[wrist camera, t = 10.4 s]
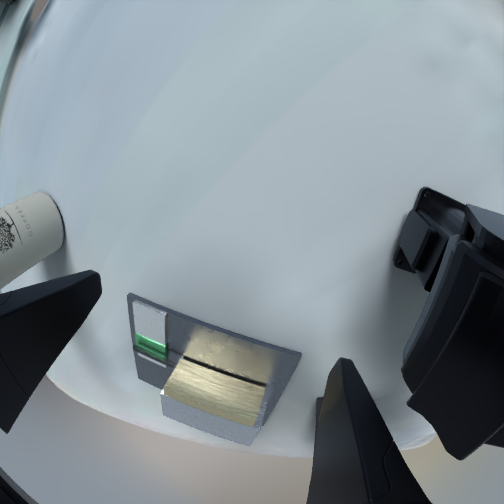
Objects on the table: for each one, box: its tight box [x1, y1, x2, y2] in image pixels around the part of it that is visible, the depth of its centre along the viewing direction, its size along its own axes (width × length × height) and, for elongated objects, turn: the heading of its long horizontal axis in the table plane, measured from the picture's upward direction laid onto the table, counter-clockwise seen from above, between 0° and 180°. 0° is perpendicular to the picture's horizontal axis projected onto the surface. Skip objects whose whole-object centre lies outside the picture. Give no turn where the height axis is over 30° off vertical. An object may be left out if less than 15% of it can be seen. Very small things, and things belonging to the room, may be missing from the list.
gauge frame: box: [127, 293, 301, 446], centre depth 28 cm, size 19×16×5 cm
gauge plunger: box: [133, 344, 265, 427], centre depth 29 cm, size 16×8×5 cm, turn 78°
